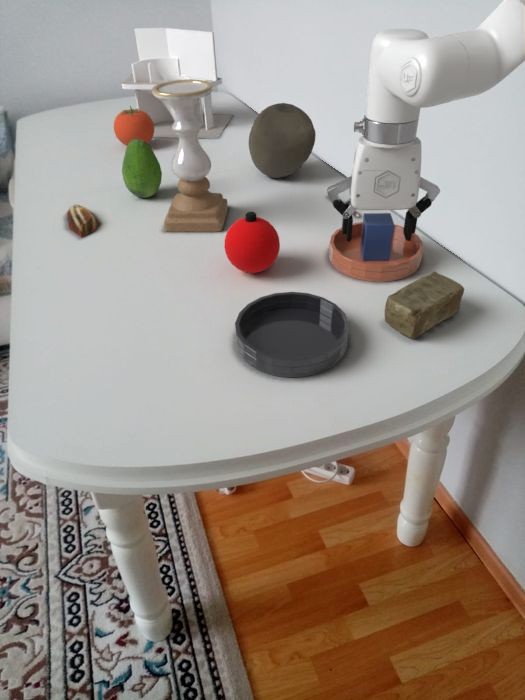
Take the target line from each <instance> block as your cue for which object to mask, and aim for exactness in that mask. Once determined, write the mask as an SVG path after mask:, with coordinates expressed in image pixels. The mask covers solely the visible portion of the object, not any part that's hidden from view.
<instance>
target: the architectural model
mask: <svg viewBox="0 0 525 700" xmlns="http://www.w3.org/2000/svg"><path fill="white" fill-rule="evenodd" d="M133 31H134V36H135V41H136V48H137V54H138V60H137V61H135V62H132V63H131V65H130V66H131V72H132V74H130V75H129V76H128V77H127V78H126V79H124V80H123V81H122V82H121V88H122V90H133V91H134V98H135V103H136V104H135V105H136V109H137V108H140V109H139V110H142V111H144V112H146V113H147V114H148V115H149V116H150V117H151V119H152V121H153V123H154V135H153V137H152V138H172V139H173V138H177V139H179V138H178V136H177V134H176V132H175V131H174V130H173V129H172V125H173V123H174V121H175V111H174V109H173V108H172V107H171V105H170V104H169V103H168V100H164V99H159V98H156V97H155V96H154V95H153V93H152V88H153V87H154V86H155V85H157V84H160V83H163V82H168V81H174V80H203V81H207V82H209V83H211V84H212V86H213V88H214V87H217V86H221V85H222V84H223V78H222V77H218V72H217V71H218V69H217V58H216V57H217V56H216V45H215V44H216V43H215V32H214V31H207V30H206V31H204V30H196V29H195V30H194V29H184V28H183V29H182V28H174V27H173V28H172V27H134V28H133ZM202 106H203V107H202ZM203 113H204V114H203ZM195 114H196V117H197V119H198V120H199V122H200V123H201V125H202V127H201V129H199V133H198V139H219V137H220V136H221V135H222V133H223V131H224V130H225V128H226V127H227V125H228V123H229V122H230V120H231V119H232V116H233V115H232V114H214V111H213V99H212V92H211V93H210V94H209V95H207V96H204V97H201V98H199V103H198V104H197V106H196V110H195Z"/></svg>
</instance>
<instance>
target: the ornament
mask: <svg viewBox="0 0 525 700" xmlns="http://www.w3.org/2000/svg"><path fill="white" fill-rule="evenodd" d="M280 248H281V243H280V237H279V233H278V231H277V230H276V228H275V226H273V225H272V223H271V222H269V221H268V220H266V219H265V218H262V217H259V216H257V213H256V212H254V211H247V212H246V213H245V214H244V217H241V218H239V219H238V220H236V221H235V222H234V223H232V225H231V226H230V227H229V228H228V230H227V232H226V234H225V237H224V251H225V255H226V258H227V259H228V261H229V262H230V264H231V265H232V266H234V268H236V269H237V270H239V271H241V272H243V273H248V274H255V273H260V272H263V271H266V270H267V269H269V268H270V267H271V266H273V264H274V263H275V261H276V260H277V258H278V256H279V254H280Z"/></svg>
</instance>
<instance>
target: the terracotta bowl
mask: <svg viewBox="0 0 525 700" xmlns="http://www.w3.org/2000/svg"><path fill="white" fill-rule="evenodd" d="M362 225H363V221H360V222H359V221H358V222H353V226H352V237H351V241H347V240H346V234H342V227H340V228H338V229H336V230H334V231H335V232H334V233H332V234H331V235H330V240H329V249H328V250H329V251H328V255H329V261H330V263H331V265H332V266H333V267H334V268H335V269H336V270H337V271H338V272H339V273H341V274H343V275H345V276H348V277H350V278H353V279H356V280H359V281H360V280H361V281H366V282H374V283H375V282H377V283H378V282H379V283H381V282H391V281H399V280H401V279H405V278H408V277H409V276H411V275H413V274H414V273H416V271H417V270H418V269H419V267H420V265H421V262H422V257H423V252H424V242H423V240H422V239H421V237H420V236H419V235H418V234H417V233H415V234H412V236H411V241H407V240H406V239H405V236H404V233H403V230H404V226H401V225H399V224H395V223H394V232H393V239H392V246H391V253H390V260H389V261H363V259H362V255H361V250H360V244H361V235H362Z"/></svg>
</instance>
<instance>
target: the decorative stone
mask: <svg viewBox="0 0 525 700" xmlns="http://www.w3.org/2000/svg"><path fill="white" fill-rule="evenodd" d="M66 217H67V225H68V229H69V230H70V231H72V232H73V233H74V234H76V235H77V236H79V237H80V238H81V239H82V238H84V237H86V236H89V235H90V234H93V233H94V232H95V230H96V229H97V227H99V221H98V219H97V218H96V217H95V216H94V214H92V212H91V211H90V210H89V209H88V208H87V207H86V206H82V205H79V204H76V203H74V204H73V205H72V206H71V207H70V208H69V209H68V210H67V211H66Z"/></svg>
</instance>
